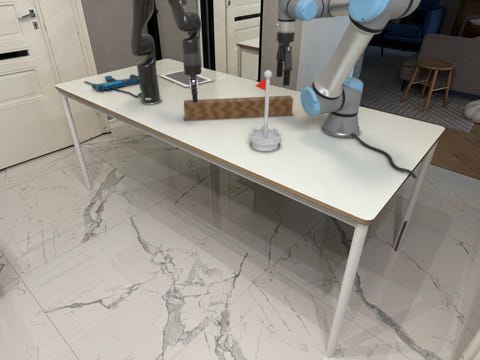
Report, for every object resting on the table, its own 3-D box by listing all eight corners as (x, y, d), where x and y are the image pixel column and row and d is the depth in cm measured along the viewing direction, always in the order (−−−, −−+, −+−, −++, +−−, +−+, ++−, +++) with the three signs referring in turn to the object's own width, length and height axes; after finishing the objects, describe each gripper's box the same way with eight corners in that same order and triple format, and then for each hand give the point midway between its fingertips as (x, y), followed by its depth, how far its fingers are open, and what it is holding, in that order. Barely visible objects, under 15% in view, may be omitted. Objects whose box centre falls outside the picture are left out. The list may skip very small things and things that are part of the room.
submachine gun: (136, 68, 224) (154, 75, 207) (137, 74, 226) (155, 81, 209) (84, 79, 205) (99, 86, 189) (85, 85, 207) (100, 93, 190)
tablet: (159, 75, 221) (159, 75, 220) (185, 70, 232) (185, 69, 231) (186, 87, 200) (186, 86, 200) (213, 80, 211) (213, 80, 211)
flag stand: (272, 135, 145) (276, 64, 129) (286, 149, 135) (292, 73, 119) (244, 140, 141) (244, 67, 125) (256, 154, 131) (258, 77, 115)
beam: (289, 111, 169) (290, 95, 164) (291, 115, 165) (293, 98, 160) (185, 117, 163) (183, 100, 159) (185, 120, 159) (183, 103, 155)
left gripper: (183, 59, 153) (187, 94, 162) (183, 67, 141) (186, 104, 150) (200, 58, 154) (202, 93, 163) (201, 66, 142) (203, 103, 151)
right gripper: (271, 27, 156) (269, 73, 167) (284, 37, 135) (280, 89, 146) (287, 26, 156) (284, 73, 168) (302, 36, 136) (297, 89, 147)
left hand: (195, 98), depth 156 cm, fingers open, 8 cm apart
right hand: (282, 80), depth 157 cm, fingers open, 13 cm apart
